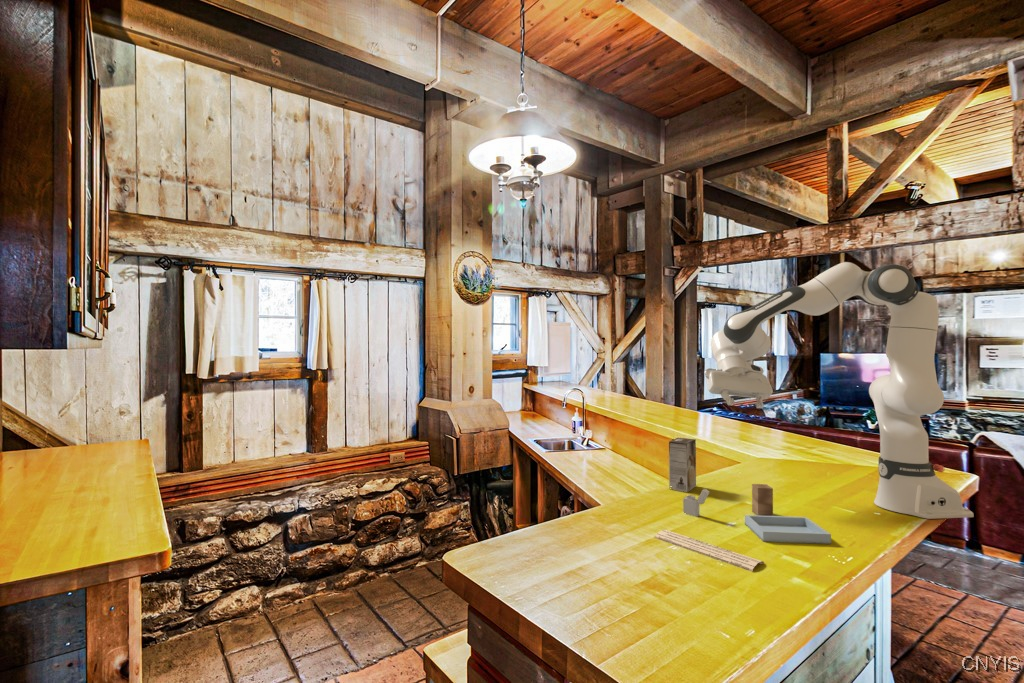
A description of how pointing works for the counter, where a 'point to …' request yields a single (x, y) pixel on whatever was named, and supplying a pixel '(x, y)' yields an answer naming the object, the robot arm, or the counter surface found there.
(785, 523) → the slate tray
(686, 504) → the lighter
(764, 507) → the walnut block
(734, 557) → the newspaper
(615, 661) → the counter surface
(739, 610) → the counter surface
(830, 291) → the robot arm
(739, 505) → the counter surface
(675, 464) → the coffee box
